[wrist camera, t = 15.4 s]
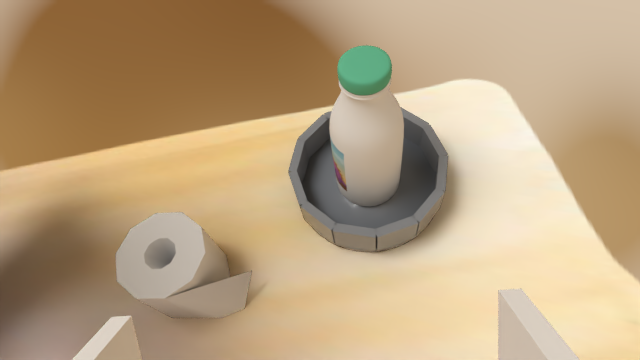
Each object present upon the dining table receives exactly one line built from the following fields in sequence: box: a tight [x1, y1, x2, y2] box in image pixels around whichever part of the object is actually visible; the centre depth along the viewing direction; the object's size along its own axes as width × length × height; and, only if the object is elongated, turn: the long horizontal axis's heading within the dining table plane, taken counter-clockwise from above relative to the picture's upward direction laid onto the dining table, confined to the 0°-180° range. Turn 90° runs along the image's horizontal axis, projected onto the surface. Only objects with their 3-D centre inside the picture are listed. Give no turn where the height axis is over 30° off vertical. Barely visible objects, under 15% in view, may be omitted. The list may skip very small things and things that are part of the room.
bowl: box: [288, 107, 448, 252], centre depth 52 cm, size 18×18×5 cm
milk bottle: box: [329, 46, 404, 207], centre depth 44 cm, size 8×8×20 cm
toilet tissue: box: [116, 212, 252, 318], centre depth 46 cm, size 9×13×9 cm
